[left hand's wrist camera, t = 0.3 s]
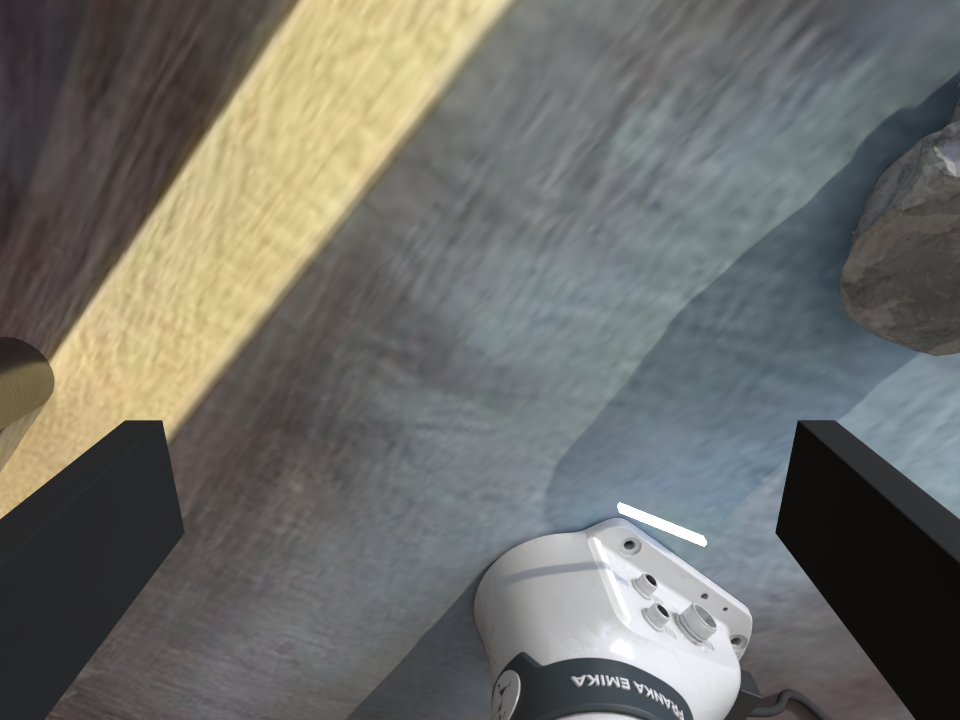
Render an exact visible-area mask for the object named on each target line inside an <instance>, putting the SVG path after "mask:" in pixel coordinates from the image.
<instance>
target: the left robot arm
mask: <svg viewBox="0 0 960 720" xmlns="http://www.w3.org/2000/svg"><path fill="white" fill-rule="evenodd" d="M184 533H185V532H184V527H183V522H182V517H181V512H180V507H179V502H178V497H177V492H176V487H175V482H174V477H173V472H172V467H171V462H170V457H169V452H168V447H167V442H166V437H165V432H164V427H163V422H162V420H125V421H124V422H123V423H121V424H120V425H119V426H118V427H116V428H115V429H114V430H112V431H111V432H110V433H109V434H107V435H106V436H105V437H104V438H102V439H101V440H100V441H99V442H97V443H96V444H95V445H94V446H92V447H91V448H90V449H88V450H87V451H86V452H85V453H83V454H82V455H81V456H80V457H78V458H77V459H76V460H75V461H73V462H72V463H71V464H70V465H68V466H67V467H66V468H64V469H63V470H62V471H61V472H59V473H58V474H57V475H56V476H54V477H53V478H52V479H51V480H49V481H48V482H47V483H46V484H44V485H43V486H42V487H41V488H39V489H38V490H37V491H35V492H34V493H33V494H32V495H30V496H29V497H28V498H27V499H25V500H24V501H23V502H22V503H20V504H19V505H18V506H17V507H15V508H14V509H13V510H11V511H10V512H9V513H8V514H6V515H5V516H4V517H3V518H1V519H0V720H44V719H45V718H46V717H47V715H48V714H49V713H50V711H51V710H52V709H53V707H54V706H55V705H56V703H57V702H58V701H59V699H60V698H61V697H62V695H63V694H64V693H65V691H66V690H67V689H68V687H69V686H70V685H71V683H72V682H73V681H74V679H75V678H76V677H77V675H78V674H79V673H80V671H81V670H82V669H83V667H84V666H85V665H86V663H87V662H88V661H89V659H90V658H91V657H92V655H93V654H94V653H95V651H96V650H97V649H98V647H99V646H100V645H101V643H102V642H103V641H104V639H105V638H106V637H107V635H108V634H109V633H110V631H111V630H112V629H113V627H114V626H115V625H116V624H117V622H118V621H119V620H120V618H121V617H122V616H123V614H124V613H125V612H126V610H127V609H128V608H129V606H130V605H131V604H132V602H133V601H134V600H135V598H136V597H137V596H138V594H139V593H140V592H141V590H142V589H143V588H144V586H145V585H146V584H147V582H148V581H149V580H150V578H151V577H152V576H153V574H154V573H155V572H156V570H157V569H158V568H159V566H160V565H161V564H162V562H163V561H164V560H165V558H166V557H167V556H168V554H169V553H170V552H171V550H172V549H173V548H174V546H175V545H176V544H177V542H178V541H179V540H180V538H181V537H182V536H183V534H184ZM775 533H776V534H777V536H778V537H779V538H780V540H781V541H782V542H783V544H784V545H785V546H786V548H787V549H788V550H789V552H790V553H791V554H792V556H793V557H794V558H795V560H796V561H797V562H798V564H799V565H800V566H801V568H802V569H803V570H804V572H805V573H806V574H807V576H808V577H809V578H810V580H811V581H812V582H813V584H814V585H815V586H816V588H817V589H818V590H819V592H820V593H821V594H822V596H823V597H824V598H825V600H826V601H827V602H828V604H829V605H830V606H831V608H832V609H833V610H834V612H835V613H836V614H837V616H838V617H839V618H840V620H841V621H842V622H843V624H844V625H845V626H846V627H847V629H848V630H849V631H850V633H851V634H852V635H853V637H854V638H855V639H856V641H857V642H858V643H859V645H860V646H861V647H862V649H863V650H864V651H865V653H866V654H867V655H868V657H869V658H870V659H871V661H872V662H873V663H874V665H875V666H876V667H877V669H878V670H879V671H880V673H881V674H882V675H883V677H884V678H885V679H886V681H887V682H888V683H889V685H890V686H891V687H892V689H893V690H894V691H895V693H896V694H897V695H898V697H899V698H900V699H901V701H902V702H903V703H904V705H905V706H906V707H907V709H908V710H909V711H910V713H911V714H912V715H913V717H914V718H915V719H916V720H960V519H959V518H957V517H956V516H955V515H954V514H952V513H951V512H950V511H949V510H947V509H946V508H945V507H943V506H942V505H941V504H940V503H938V502H937V501H936V500H935V499H933V498H932V497H931V496H930V495H928V494H927V493H926V492H925V491H923V490H922V489H921V488H919V487H918V486H917V485H916V484H914V483H913V482H912V481H911V480H909V479H908V478H907V477H906V476H904V475H903V474H902V473H901V472H899V471H898V470H897V469H896V468H894V467H893V466H892V465H890V464H889V463H888V462H887V461H885V460H884V459H883V458H882V457H880V456H879V455H878V454H877V453H875V452H874V451H873V450H872V449H870V448H869V447H868V446H866V445H865V444H864V443H863V442H861V441H860V440H859V439H858V438H856V437H855V436H854V435H853V434H851V433H850V432H849V431H848V430H846V429H845V428H844V427H842V426H841V425H840V424H839V423H837V422H836V421H835V420H798V422H797V427H796V432H795V437H794V442H793V447H792V452H791V457H790V462H789V467H788V472H787V477H786V482H785V487H784V492H783V497H782V502H781V507H780V512H779V517H778V522H777V527H776V532H775Z"/></svg>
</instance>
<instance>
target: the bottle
mask: <svg viewBox="0 0 960 720" xmlns="http://www.w3.org/2000/svg"><path fill="white" fill-rule="evenodd" d="M53 388H54V376H53V372H52V369H51V367H50V365H49V363H48V362H47V360H46V359H45V357H44V356H43V355H42V354H41V353H40V352H39V351H38V350H37V349H35V348H34V347H33V346H31V345H29V344H28V343H26V342H24V341H21V340H18V339H14V338H8V337H0V430H1V429H2V428H4V427H6V426H7V425H9V424H10V423H12V422H14V421H15V420H17V419H19V418H20V417H22V416H24V415H25V414H27V413H29V412H30V411H32V410H34V409H35V408H37V407H39V406H40V405H42V404H43V403H45V402H46V401H47V400H48V399H49V397H50V396H51V394H52V391H53Z"/></svg>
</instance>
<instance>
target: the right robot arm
mask: <svg viewBox="0 0 960 720" xmlns="http://www.w3.org/2000/svg"><path fill="white" fill-rule="evenodd" d="M618 509H619V512H620V513H622V514H625V515H627V516H630V517H632V518H635V519H637V520H640V521H642V522H645V523H647V524H650V525H652V526H655V527H657V528H660V529H662V530H665V531H667V532H670V533H672V534H675V535H677V536H680V537H682V538H685V539H687V540H690V541H692V542H695V543H697V544H700V545H702V546H705V545H706V544H707V542H706V540H705V539H704V537H703V536H701V535H699V534H696V533H694V532H691V531H689V530H686V529H684V528H681V527H679V526H676V525H674V524H671V523H669V522H666V521H664V520H662V519H659V518H657V517H654V516H652V515H649V514H647V513H644V512H642V511H639V510H637V509H634V508H632V507H629V506H627V505H624V504H622V503H619V505H618ZM627 541H632V542H631V543H630V544H624V543H625V542H627ZM474 617H475V622H476V625H477V628H478V631H479V633H480V636H481V638H482V641H483V644H484V647H485V651H486V654H487V658H488V663H489V667H490V673H491V679H492V685H493V692H492V704H491V720H746V718H747V717H771V716H775V715H778V714H780V713H782V712H783V711H784V709H785V707H786V704H787V701H788V700H789V699H792V700H795V701H797V702H799V703H800V704H802V705H803V706H804V707H805V708H807V709H808V710H809V711H810V712H811V713H812V714H813V715H814V716H815V717H816V718H817V719H818V720H830V719H829V718H828V717H827V716H826V715H825V714H824V713H823V712H822V711H821V710H820V709H819V708H817V707H816V706H815V705H814V704H813V703H812V702H811V701H810V700H808V699H807V698H806V697H805V696H803V695H802V694H800V693H798V692H796V691H792V690H783V691H782V692H781V693H780V694H779V697H778V699H777V702H776V703H775V704H774V705H771V706H765V707H756V706H757V705H758V704H759V703H760V701H761V700H762V699H763V697H762V695H761V693H760V691H759V689H758V687H757V685H756V683H755V681H754V680H753V678H752V676H751V674H750V673H749V672H746V671H744V670H741V669H740V665H739V660H740V659H741V657H742V655H743V653H744V651H745V649H746V647H747V645H748V642H749V639H750V636H751V631H752V617H751V614H750V612H749V610H748V608H747V607H746V606H745V605H743V604H742V603H741V602H739V601H738V600H737V599H735V598H734V597H733V596H731V595H730V594H728V593H727V592H726V591H724V590H723V589H722V588H720V587H719V586H717V585H716V584H715V583H713V582H712V581H711V580H709V579H708V578H706V577H705V576H704V575H702V574H701V573H699V572H698V571H697V570H695V569H694V568H693V567H691V566H690V565H688V564H687V563H686V562H684V561H683V560H681V559H680V558H679V557H677V556H676V555H675V554H673V553H672V552H670V551H669V550H668V549H666V548H665V547H663V546H662V545H661V544H659V543H658V542H657V541H655V540H654V539H652V538H651V537H650V536H648V535H647V534H645V533H644V532H643V531H641V530H640V529H639V528H637V527H636V526H634V525H633V524H632V523H630V522H629V521H627V520H625V519H623V518H612V519H608V520H605V521H603V522H600V523H598V524H596V525H594V526H591V527H589V528H587V529H585V530H583V531H578V532H572V533H561V534H552V535H547V536H542V537H538V538H535V539H532V540H529V541H527V542H524V543H522V544H520V545H518V546H516V547H514V548H513V549H511V550H509V551H508V552H506V553H505V554H504V555H502V556H501V557H500V558H499V559H498V560H497V561H495V562H494V564H493V565H492V566H491V567H490V568H489V569H488V570H487V572H486V573H485V575H484V576H483V578H482V580H481V582H480V584H479V586H478V589H477V592H476V595H475V601H474Z"/></svg>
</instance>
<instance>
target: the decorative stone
mask: <svg viewBox="0 0 960 720" xmlns="http://www.w3.org/2000/svg"><path fill="white" fill-rule="evenodd" d="M958 90H959V92H960V83H959V85H958ZM839 288H840V296H841V301H842V305H843V310H844V312H845V313H846V314H847V316H848V317H849V318H851V319H852V320H853V321H855V322H856V323H857V324H859V325H860V326H861V327H863V328H865V329H866V330H868V331H870V332H871V333H873V334H874V335H876V336H878V337H881V338H883V339H886V340H888V341H891V342H894V343H896V344H899V345H902V346H905V347H907V348H910V349H913V350H915V351H919V352H923V353H927V354H931V355H935V356H939V355H949V354H955V353H960V99H959V100H958V102H957V103H956V105H955V107H954V110H953V112H952V114H951V117H950V118H949V120H948V121H947V123H946V124H945V126H944V128H943V129H942V130H940V131H938V132H935V133H932V134H929V135H926V136H924V137H922V138H920V139H919V140H918V141H917V143H916V144H915V145H914V146H913V148H912V149H911V150H909V151H908V152H906V153H905V154H903V155H902V156H900V157H899V158H898V159H896V160H895V161H894V162H893V163H891V164H890V165H889V166H888V167H887V168H886V169H885V170H884V171H883V172H882V173H881V174H880V175H879V176H878V177H877V179H876V182H875V184H874V186H873V189H872V191H871V193H870V195H869V196H868V198H867V199H866V200H865V203H864V206H863V211H862V216H861V219H860V221H859V223H858V225H857V227H856V229H854V230H853V231H852V232H851V250H850V254H849V257H848V260H847V262H846V263H845V265H844V267H843V269H842V271H841V273H840V276H839Z"/></svg>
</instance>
